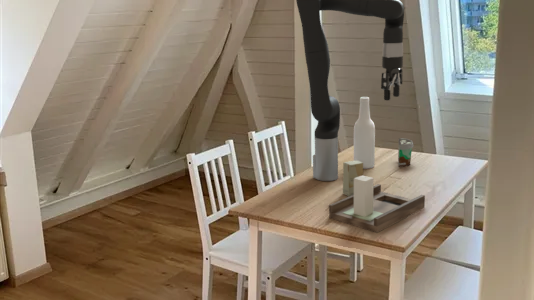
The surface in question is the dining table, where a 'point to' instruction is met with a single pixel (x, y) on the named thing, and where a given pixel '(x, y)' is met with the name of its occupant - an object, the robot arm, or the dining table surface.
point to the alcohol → (364, 136)
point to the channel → (377, 210)
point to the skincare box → (351, 175)
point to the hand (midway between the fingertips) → (391, 98)
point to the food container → (404, 152)
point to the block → (363, 195)
